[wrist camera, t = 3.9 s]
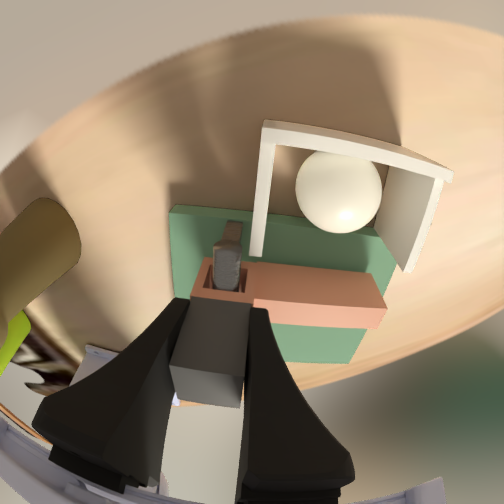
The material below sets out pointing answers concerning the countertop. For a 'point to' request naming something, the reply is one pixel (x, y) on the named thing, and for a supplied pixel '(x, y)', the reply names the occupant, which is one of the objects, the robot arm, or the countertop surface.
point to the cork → (34, 256)
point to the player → (280, 311)
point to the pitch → (283, 252)
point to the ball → (338, 191)
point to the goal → (394, 195)
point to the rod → (228, 258)
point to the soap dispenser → (14, 338)
